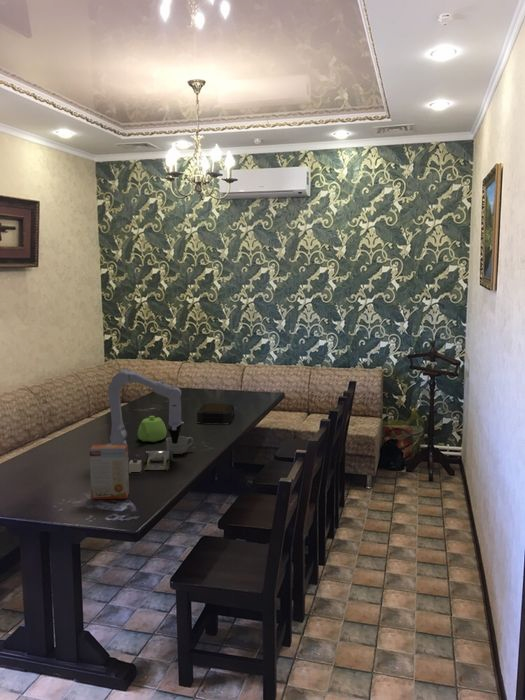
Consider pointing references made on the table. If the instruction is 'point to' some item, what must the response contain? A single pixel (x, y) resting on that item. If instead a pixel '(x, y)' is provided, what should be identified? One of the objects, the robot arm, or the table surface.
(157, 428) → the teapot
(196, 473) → the table surface
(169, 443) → the teacup
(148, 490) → the table surface
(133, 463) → the light grey block
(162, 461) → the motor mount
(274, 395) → the table surface
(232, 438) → the table surface
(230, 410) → the cash box
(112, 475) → the cracker box
